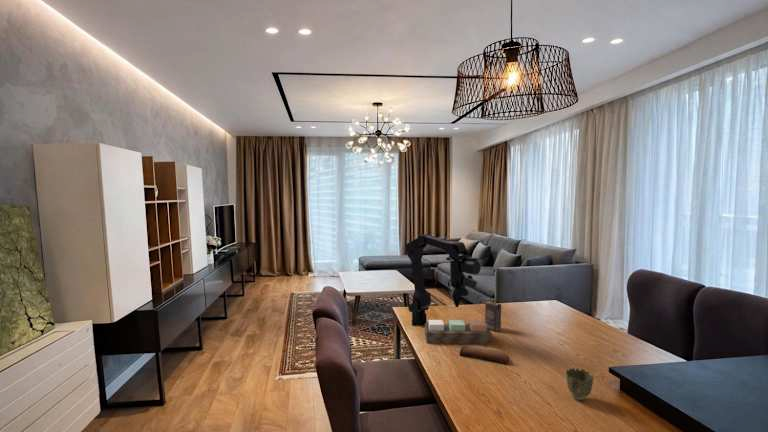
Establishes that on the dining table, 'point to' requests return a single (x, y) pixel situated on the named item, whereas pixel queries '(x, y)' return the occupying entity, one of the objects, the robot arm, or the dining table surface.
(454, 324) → the key sage
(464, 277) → the robot arm
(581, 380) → the cup
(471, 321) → the key terracotta
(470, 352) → the sunglasses case
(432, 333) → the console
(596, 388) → the dining table surface
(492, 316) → the box
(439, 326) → the key cream
